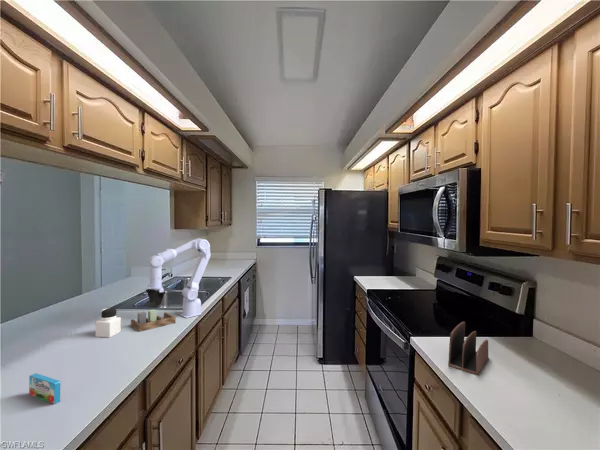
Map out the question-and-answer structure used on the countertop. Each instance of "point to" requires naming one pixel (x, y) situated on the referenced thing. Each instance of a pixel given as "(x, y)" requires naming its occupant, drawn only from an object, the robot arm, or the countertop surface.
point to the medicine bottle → (108, 323)
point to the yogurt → (44, 388)
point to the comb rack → (153, 322)
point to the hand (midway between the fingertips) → (155, 303)
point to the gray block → (141, 317)
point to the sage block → (152, 315)
